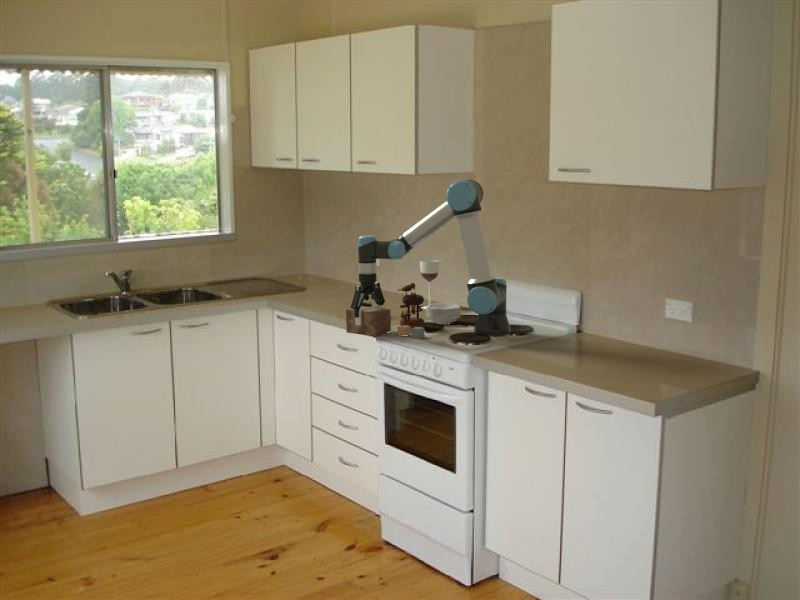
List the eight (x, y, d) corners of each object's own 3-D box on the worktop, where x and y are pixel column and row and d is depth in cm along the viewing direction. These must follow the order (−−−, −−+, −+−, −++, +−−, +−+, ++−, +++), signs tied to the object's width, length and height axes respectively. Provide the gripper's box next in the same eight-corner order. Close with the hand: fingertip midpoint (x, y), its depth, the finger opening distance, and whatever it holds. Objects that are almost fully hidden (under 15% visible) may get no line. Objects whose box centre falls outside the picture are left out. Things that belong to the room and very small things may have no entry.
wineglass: (428, 309, 444) (428, 262, 441) (416, 307, 452) (415, 260, 449) (443, 307, 449) (443, 261, 446) (430, 305, 457) (430, 259, 454)
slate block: (424, 337, 378) (424, 327, 377) (419, 338, 375) (418, 329, 374) (416, 336, 380) (416, 326, 380) (411, 337, 377) (410, 328, 376)
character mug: (360, 318, 423) (360, 290, 421) (352, 316, 429) (351, 288, 427) (380, 315, 429) (380, 288, 427) (371, 313, 435) (371, 286, 433)
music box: (411, 331, 390) (407, 284, 388) (392, 330, 398) (389, 284, 396) (435, 326, 401) (431, 280, 399) (417, 325, 408) (413, 280, 407)
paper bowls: (467, 322, 409) (467, 305, 408) (444, 327, 398) (444, 309, 397) (442, 318, 420) (442, 301, 418) (419, 323, 409) (419, 305, 408)
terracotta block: (410, 335, 382) (410, 326, 381) (405, 337, 379) (405, 327, 378) (403, 334, 384) (402, 325, 384) (397, 336, 381) (397, 326, 380)
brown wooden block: (390, 332, 388) (390, 309, 387) (376, 336, 380) (375, 312, 379) (361, 328, 398) (360, 306, 396) (346, 332, 390) (346, 309, 388)
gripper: (378, 269, 397) (379, 317, 400) (341, 275, 377) (342, 326, 381) (392, 270, 393) (393, 318, 396) (355, 276, 373) (356, 328, 376)
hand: (368, 322), depth 388 cm, fingers open, 13 cm apart
